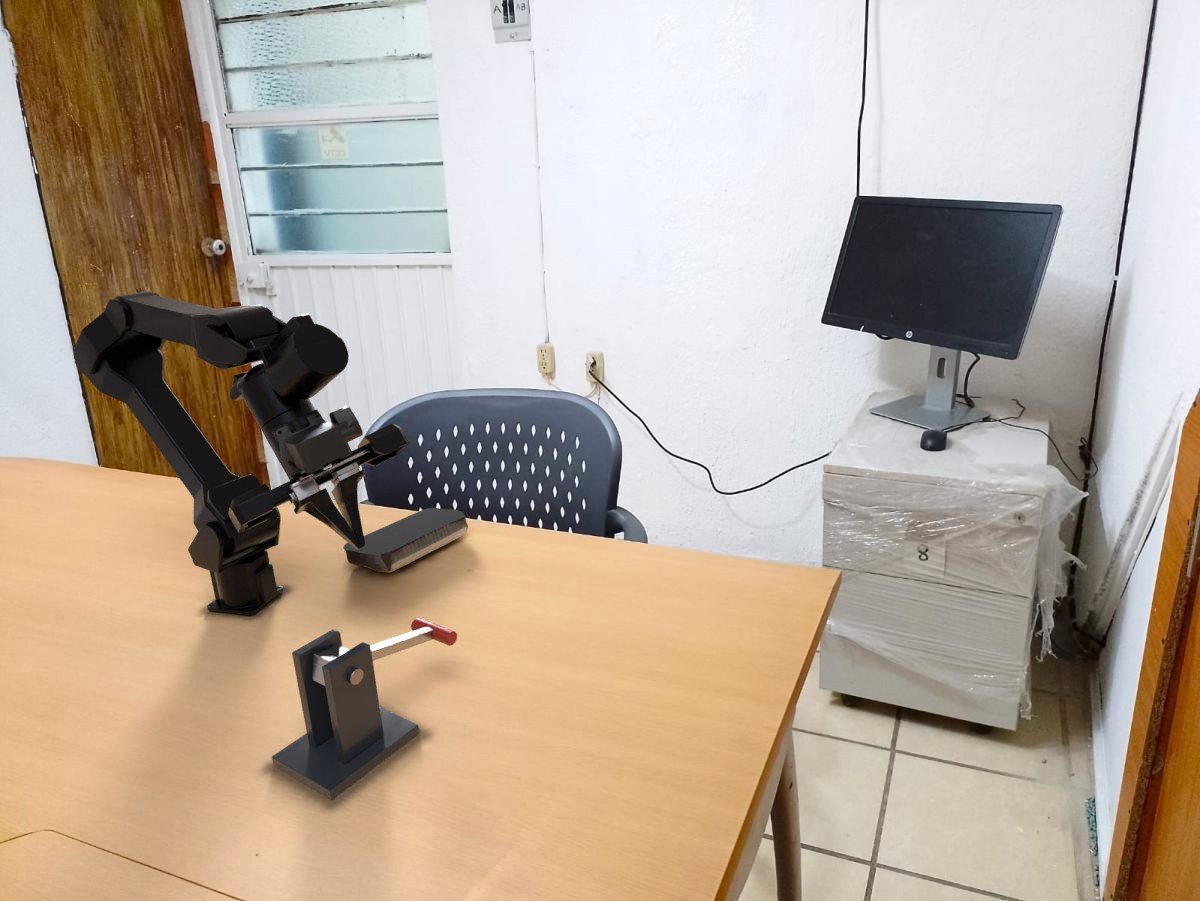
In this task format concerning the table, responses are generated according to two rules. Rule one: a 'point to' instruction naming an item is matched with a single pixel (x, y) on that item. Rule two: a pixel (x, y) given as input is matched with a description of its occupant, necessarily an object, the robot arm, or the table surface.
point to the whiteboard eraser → (408, 539)
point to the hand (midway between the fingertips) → (361, 548)
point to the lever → (389, 645)
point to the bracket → (340, 720)
